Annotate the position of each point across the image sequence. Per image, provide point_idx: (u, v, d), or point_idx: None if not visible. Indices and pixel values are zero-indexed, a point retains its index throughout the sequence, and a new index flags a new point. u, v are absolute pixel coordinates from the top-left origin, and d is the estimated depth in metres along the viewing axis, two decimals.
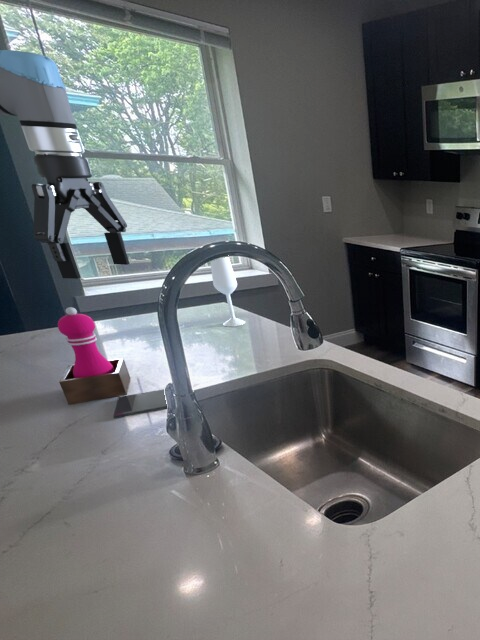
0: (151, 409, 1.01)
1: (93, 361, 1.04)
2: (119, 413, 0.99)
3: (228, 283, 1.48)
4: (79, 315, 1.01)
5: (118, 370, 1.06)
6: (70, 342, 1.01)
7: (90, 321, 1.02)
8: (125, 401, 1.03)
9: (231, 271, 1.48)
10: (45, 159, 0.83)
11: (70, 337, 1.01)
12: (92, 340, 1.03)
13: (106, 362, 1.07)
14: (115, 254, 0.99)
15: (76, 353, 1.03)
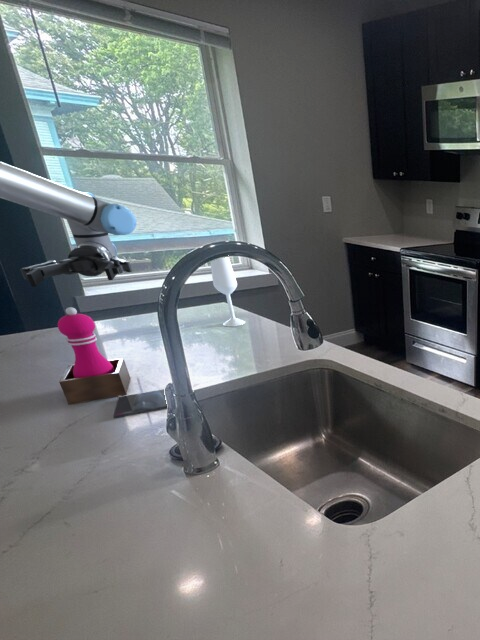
0: (151, 409, 1.01)
1: (93, 361, 1.04)
2: (119, 413, 0.99)
3: (228, 283, 1.48)
4: (79, 315, 1.01)
5: (118, 370, 1.06)
6: (70, 342, 1.01)
7: (90, 321, 1.02)
8: (125, 401, 1.03)
9: (231, 271, 1.48)
10: (107, 259, 1.24)
11: (70, 337, 1.01)
12: (92, 340, 1.03)
13: (106, 362, 1.07)
14: (35, 276, 1.05)
15: (76, 353, 1.03)
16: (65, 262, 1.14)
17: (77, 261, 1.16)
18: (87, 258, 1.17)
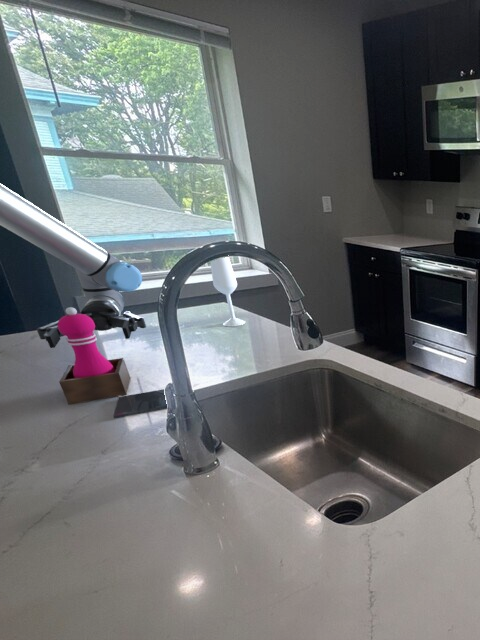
0: (151, 409, 1.01)
1: (93, 361, 1.04)
2: (119, 413, 0.99)
3: (228, 283, 1.48)
4: (79, 315, 1.01)
5: (118, 370, 1.06)
6: (70, 342, 1.01)
7: (90, 321, 1.02)
8: (125, 401, 1.03)
9: (231, 271, 1.48)
10: (118, 313, 1.26)
11: (70, 337, 1.01)
12: (92, 340, 1.03)
13: (106, 362, 1.07)
14: (53, 337, 1.07)
15: (76, 353, 1.03)
16: None
17: (91, 318, 1.18)
18: (101, 314, 1.19)
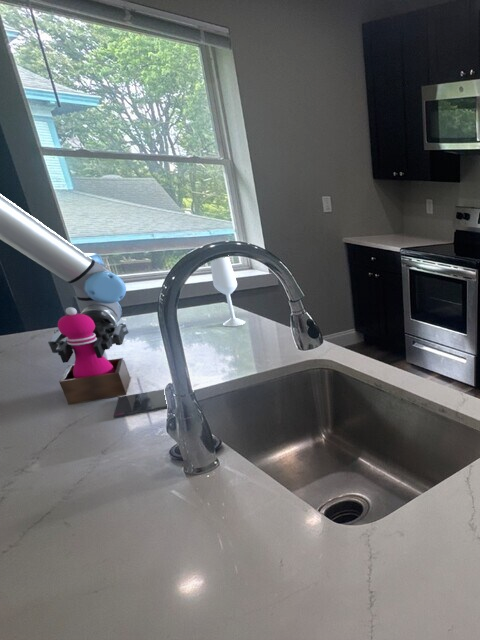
0: (151, 409, 1.01)
1: (93, 361, 1.04)
2: (119, 413, 0.99)
3: (228, 283, 1.48)
4: (79, 315, 1.01)
5: (118, 370, 1.06)
6: (70, 342, 1.01)
7: (90, 321, 1.02)
8: (125, 401, 1.03)
9: (231, 271, 1.48)
10: (115, 323, 1.19)
11: (70, 337, 1.01)
12: (92, 340, 1.03)
13: (106, 362, 1.07)
14: (66, 351, 1.00)
15: (76, 353, 1.03)
16: None
17: None
18: None
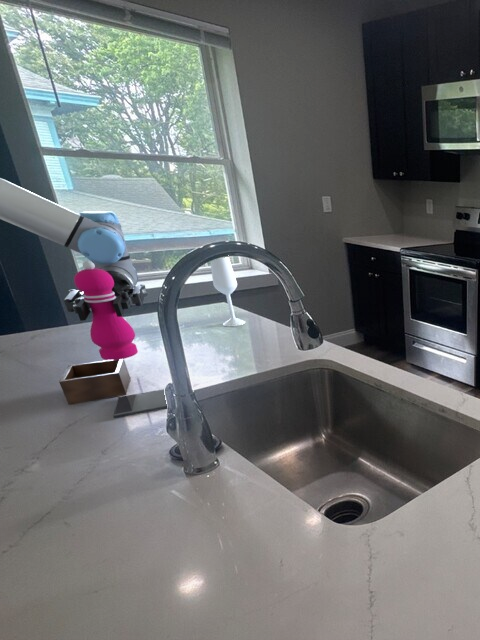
0: (151, 409, 1.01)
1: (112, 321, 0.96)
2: (119, 413, 0.99)
3: (228, 283, 1.48)
4: (97, 270, 0.93)
5: (118, 370, 1.06)
6: (88, 299, 0.93)
7: (109, 277, 0.94)
8: (125, 401, 1.03)
9: (231, 271, 1.48)
10: (132, 286, 1.11)
11: (88, 294, 0.93)
12: (111, 298, 0.95)
13: (126, 323, 0.98)
14: (84, 308, 0.92)
15: (94, 312, 0.94)
16: None
17: None
18: (113, 286, 1.04)
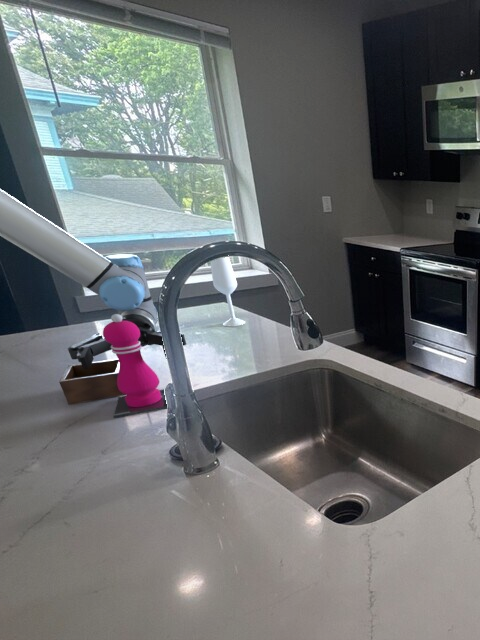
0: (151, 409, 1.01)
1: (138, 371, 0.99)
2: (119, 413, 0.99)
3: (228, 283, 1.48)
4: (125, 322, 0.96)
5: (118, 370, 1.06)
6: (115, 351, 0.96)
7: (136, 328, 0.97)
8: (125, 401, 1.03)
9: (231, 271, 1.48)
10: (154, 328, 1.14)
11: (115, 345, 0.96)
12: (137, 348, 0.98)
13: (151, 371, 1.02)
14: (87, 357, 0.95)
15: (121, 362, 0.98)
16: None
17: None
18: None
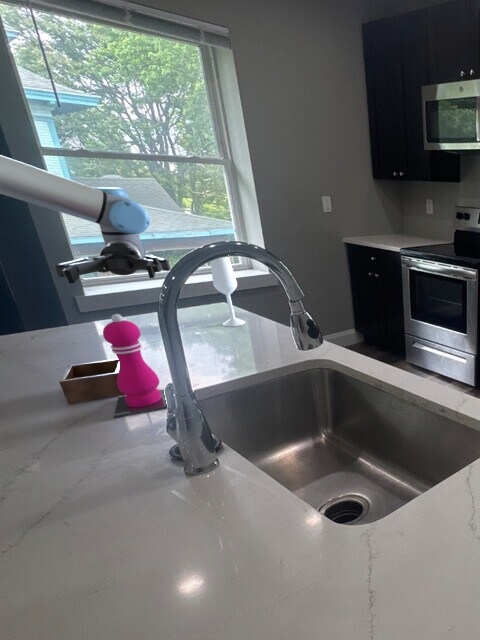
0: (151, 409, 1.01)
1: (138, 371, 0.99)
2: (119, 413, 0.99)
3: (228, 283, 1.48)
4: (125, 322, 0.96)
5: (118, 370, 1.06)
6: (115, 350, 0.96)
7: (136, 328, 0.97)
8: (125, 401, 1.03)
9: (231, 271, 1.48)
10: None
11: (116, 345, 0.96)
12: (137, 348, 0.98)
13: (151, 371, 1.02)
14: (72, 272, 0.98)
15: (121, 362, 0.98)
16: (100, 259, 1.07)
17: (112, 258, 1.09)
18: (122, 256, 1.11)
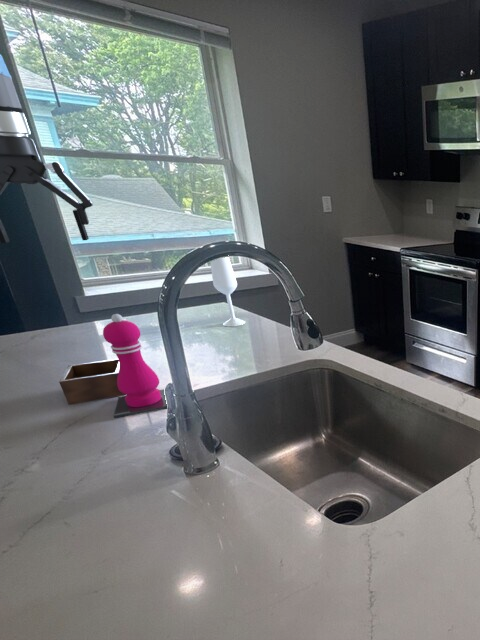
0: (151, 409, 1.01)
1: (138, 371, 0.99)
2: (119, 413, 0.99)
3: (228, 283, 1.48)
4: (125, 322, 0.96)
5: (118, 370, 1.06)
6: (115, 350, 0.96)
7: (136, 328, 0.97)
8: (125, 401, 1.03)
9: (231, 271, 1.48)
10: (33, 141, 0.99)
11: (116, 345, 0.96)
12: (137, 348, 0.98)
13: (151, 371, 1.02)
14: (3, 232, 1.02)
15: (121, 362, 0.98)
16: (5, 183, 0.98)
17: (16, 177, 0.99)
18: (26, 173, 0.99)
